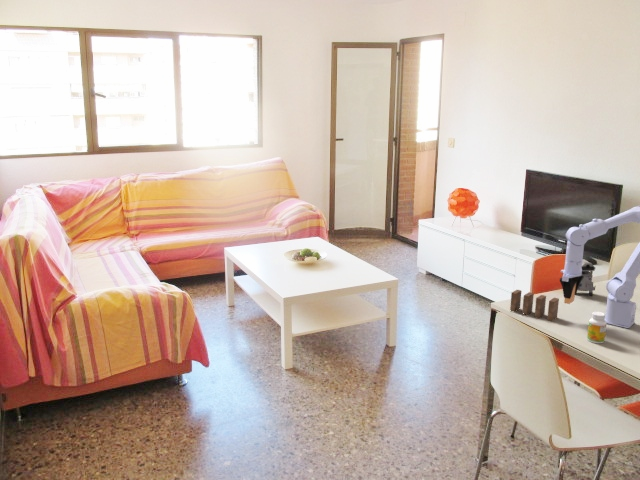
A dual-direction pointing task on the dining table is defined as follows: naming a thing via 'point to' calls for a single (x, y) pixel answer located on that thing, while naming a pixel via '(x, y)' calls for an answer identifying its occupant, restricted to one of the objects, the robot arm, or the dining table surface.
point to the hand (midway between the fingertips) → (569, 296)
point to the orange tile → (571, 297)
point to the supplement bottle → (597, 328)
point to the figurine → (587, 277)
